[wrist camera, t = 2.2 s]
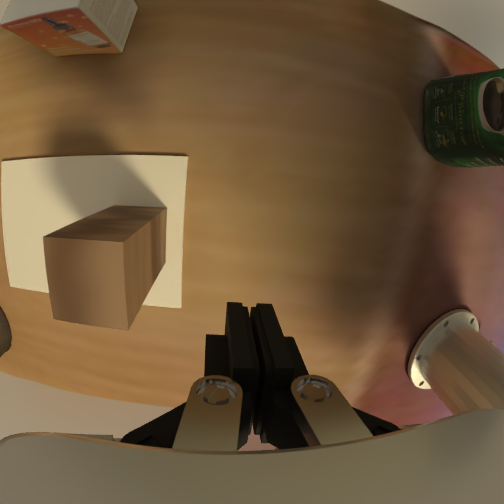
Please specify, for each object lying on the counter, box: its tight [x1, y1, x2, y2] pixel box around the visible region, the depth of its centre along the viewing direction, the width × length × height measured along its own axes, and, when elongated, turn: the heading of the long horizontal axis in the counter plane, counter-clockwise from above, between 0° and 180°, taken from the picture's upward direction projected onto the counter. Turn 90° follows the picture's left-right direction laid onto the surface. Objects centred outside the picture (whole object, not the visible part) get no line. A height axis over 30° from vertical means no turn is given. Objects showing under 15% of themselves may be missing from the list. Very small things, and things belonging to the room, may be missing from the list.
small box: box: [0, 0, 138, 57], centre depth 15 cm, size 8×6×10 cm
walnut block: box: [43, 205, 167, 330], centre depth 20 cm, size 5×5×12 cm
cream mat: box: [1, 155, 188, 308], centre depth 25 cm, size 21×14×1 cm, turn 84°
